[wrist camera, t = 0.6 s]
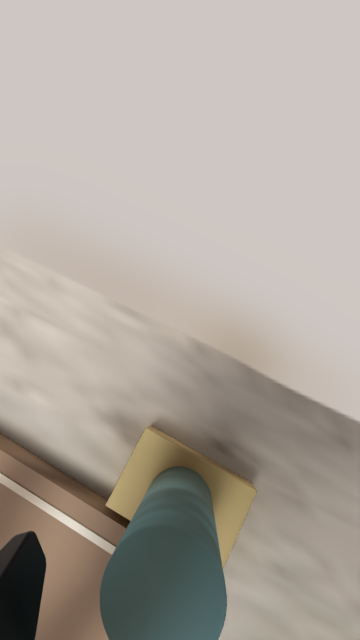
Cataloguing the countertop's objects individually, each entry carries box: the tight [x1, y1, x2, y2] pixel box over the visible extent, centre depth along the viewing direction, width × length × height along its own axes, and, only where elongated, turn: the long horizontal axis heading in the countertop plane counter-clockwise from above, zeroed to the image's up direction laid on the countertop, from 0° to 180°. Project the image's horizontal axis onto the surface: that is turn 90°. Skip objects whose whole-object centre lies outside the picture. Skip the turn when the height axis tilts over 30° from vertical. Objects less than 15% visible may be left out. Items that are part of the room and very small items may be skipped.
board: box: [0, 434, 130, 640], centre depth 19 cm, size 20×8×2 cm, turn 62°
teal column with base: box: [100, 426, 257, 640], centre depth 15 cm, size 7×5×11 cm, turn 62°
